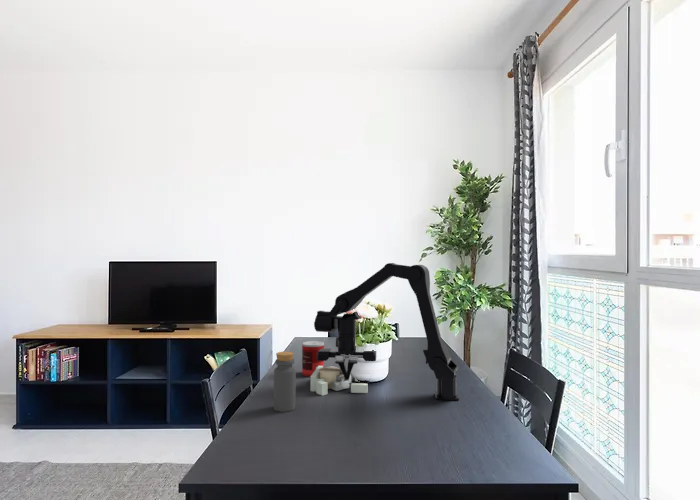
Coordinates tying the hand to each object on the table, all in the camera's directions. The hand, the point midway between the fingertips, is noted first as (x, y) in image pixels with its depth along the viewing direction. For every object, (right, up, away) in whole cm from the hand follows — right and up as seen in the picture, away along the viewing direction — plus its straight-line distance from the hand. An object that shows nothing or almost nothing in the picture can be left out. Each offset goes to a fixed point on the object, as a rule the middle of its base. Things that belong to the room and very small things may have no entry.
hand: (347, 381), depth 142 cm
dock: (-2, -1, 0) cm, 2 cm away
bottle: (-17, -1, -21) cm, 27 cm away
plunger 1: (-2, -1, -4) cm, 4 cm away
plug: (-6, -1, +1) cm, 6 cm away
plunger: (-1, -1, +4) cm, 5 cm away
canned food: (-12, -2, +14) cm, 19 cm away
